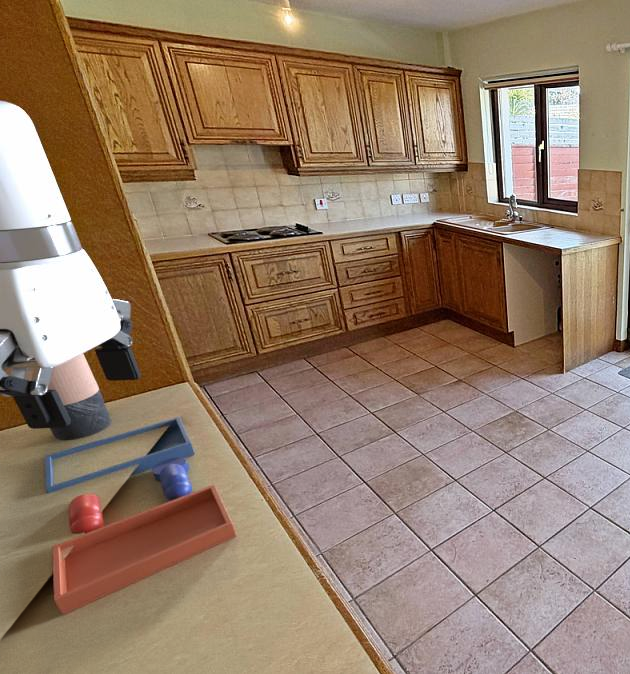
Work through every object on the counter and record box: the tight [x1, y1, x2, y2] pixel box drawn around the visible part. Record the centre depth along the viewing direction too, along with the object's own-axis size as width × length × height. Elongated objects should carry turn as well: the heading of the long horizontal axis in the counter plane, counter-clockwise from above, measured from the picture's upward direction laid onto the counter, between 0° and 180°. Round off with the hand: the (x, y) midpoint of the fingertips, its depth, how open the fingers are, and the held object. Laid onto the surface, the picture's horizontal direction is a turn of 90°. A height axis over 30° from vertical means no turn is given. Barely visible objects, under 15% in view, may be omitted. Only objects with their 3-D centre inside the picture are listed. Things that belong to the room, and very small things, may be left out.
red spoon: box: [67, 493, 104, 535], centre depth 69 cm, size 12×4×3 cm, turn 47°
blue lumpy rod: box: [151, 458, 193, 502], centre depth 76 cm, size 12×4×3 cm, turn 47°
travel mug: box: [24, 353, 112, 441], centre depth 83 cm, size 8×8×20 cm
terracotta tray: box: [51, 484, 237, 616], centre depth 65 cm, size 11×17×2 cm, turn 137°
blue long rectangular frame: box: [44, 416, 196, 494], centre depth 81 cm, size 11×17×2 cm, turn 137°
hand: (91, 400), depth 51 cm, fingers open, 9 cm apart
